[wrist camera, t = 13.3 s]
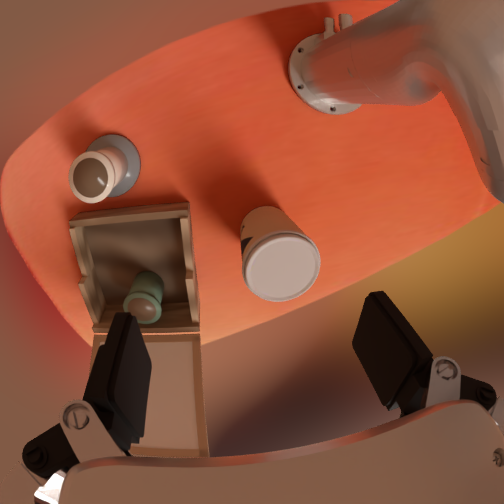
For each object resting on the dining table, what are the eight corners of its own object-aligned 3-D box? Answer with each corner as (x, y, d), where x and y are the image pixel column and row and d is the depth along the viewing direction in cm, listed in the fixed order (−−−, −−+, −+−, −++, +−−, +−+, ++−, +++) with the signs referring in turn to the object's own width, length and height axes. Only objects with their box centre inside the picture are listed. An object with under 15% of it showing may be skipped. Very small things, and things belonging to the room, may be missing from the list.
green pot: (132, 266, 41) (122, 290, 35) (167, 273, 42) (162, 298, 37) (131, 295, 43) (123, 320, 38) (164, 301, 45) (159, 327, 39)
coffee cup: (226, 212, 40) (231, 250, 29) (287, 192, 40) (315, 222, 29) (245, 264, 44) (256, 313, 34) (300, 245, 44) (327, 289, 34)
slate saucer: (81, 140, 31) (79, 140, 31) (138, 129, 32) (136, 130, 32) (89, 198, 36) (87, 200, 35) (143, 192, 37) (142, 193, 36)
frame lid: (86, 446, 26) (88, 447, 27) (208, 456, 28) (209, 456, 29) (94, 334, 39) (96, 336, 39) (199, 333, 41) (200, 335, 41)
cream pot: (88, 148, 32) (65, 157, 25) (128, 141, 32) (110, 147, 26) (94, 190, 34) (72, 206, 28) (132, 184, 35) (116, 200, 29)
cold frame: (78, 212, 36) (58, 231, 30) (189, 201, 38) (184, 219, 32) (104, 306, 45) (94, 332, 39) (200, 303, 47) (199, 331, 41)
